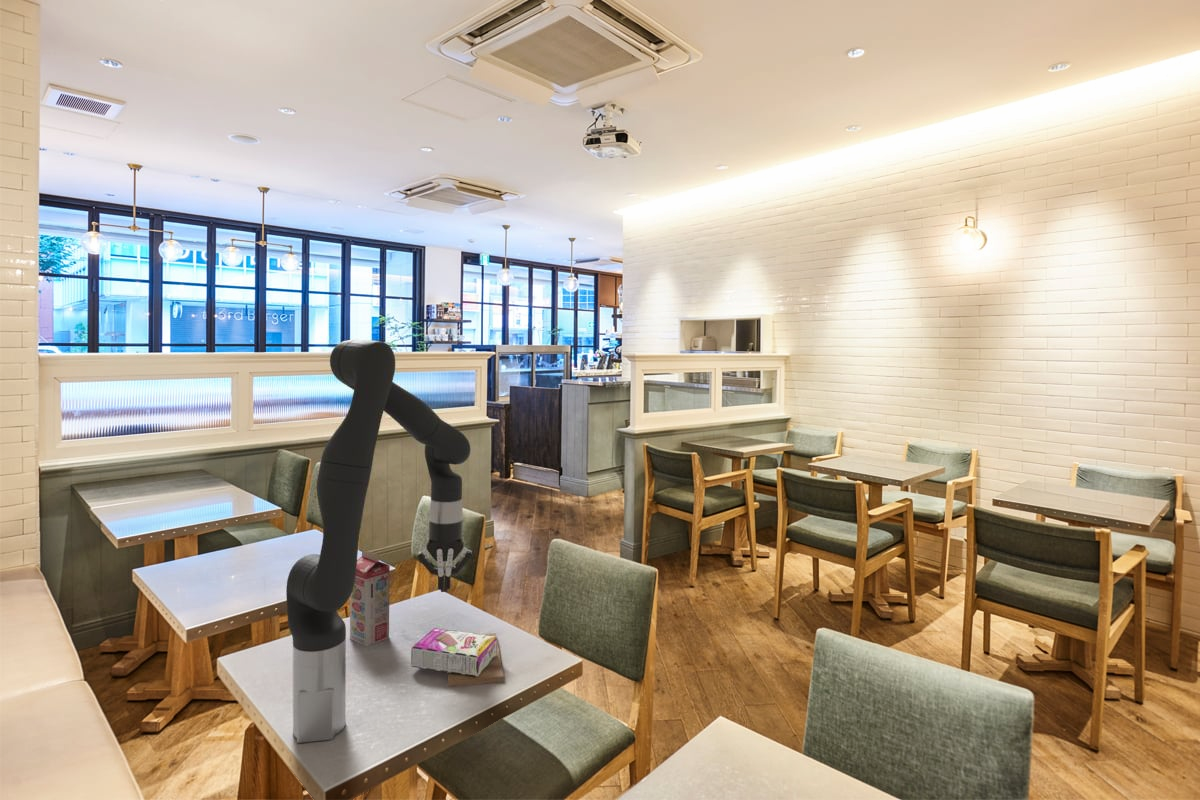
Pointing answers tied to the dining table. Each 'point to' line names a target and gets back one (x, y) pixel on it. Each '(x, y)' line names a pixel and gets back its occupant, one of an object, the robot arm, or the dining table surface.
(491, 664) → the walnut board
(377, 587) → the juice carton
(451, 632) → the candy bar box
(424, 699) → the dining table surface
